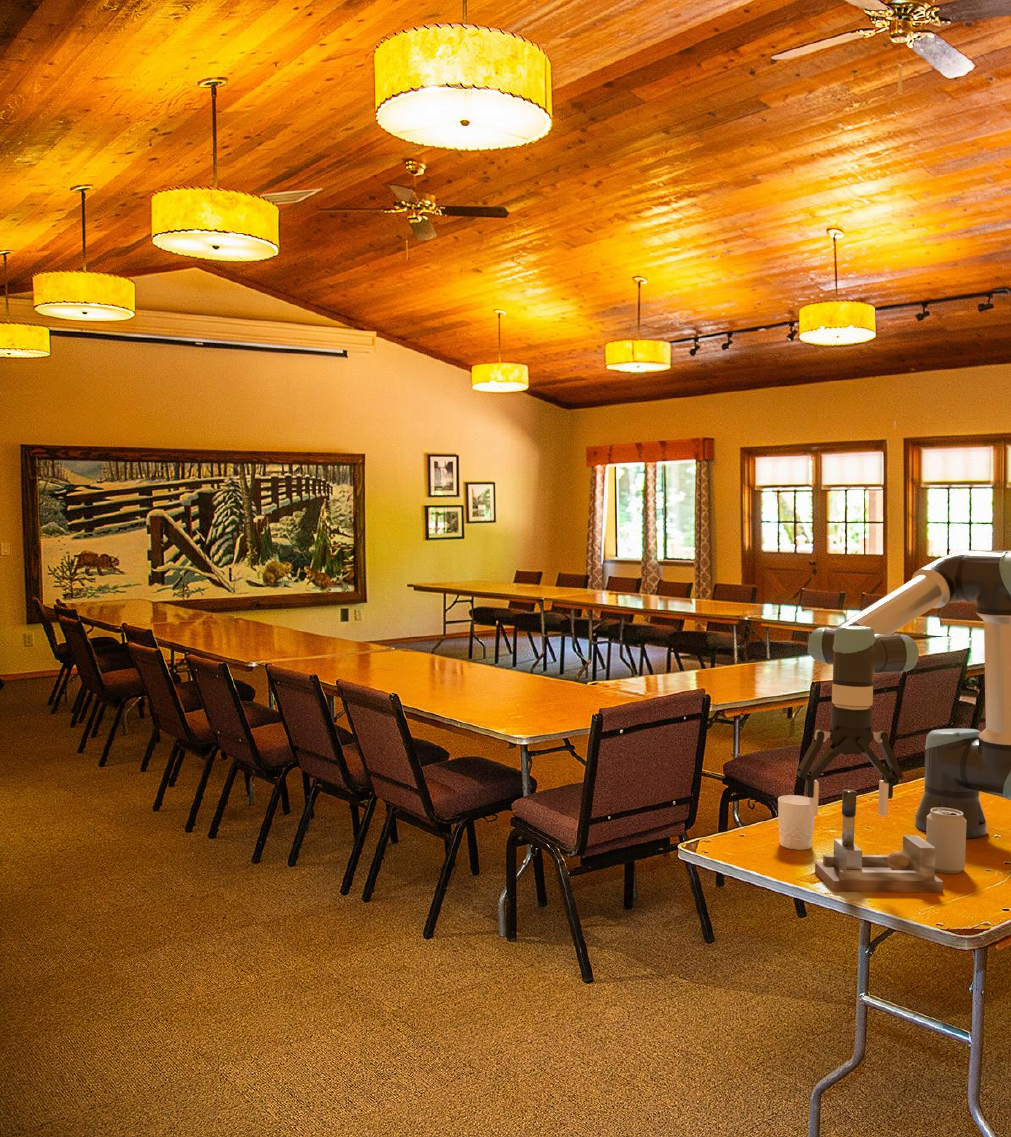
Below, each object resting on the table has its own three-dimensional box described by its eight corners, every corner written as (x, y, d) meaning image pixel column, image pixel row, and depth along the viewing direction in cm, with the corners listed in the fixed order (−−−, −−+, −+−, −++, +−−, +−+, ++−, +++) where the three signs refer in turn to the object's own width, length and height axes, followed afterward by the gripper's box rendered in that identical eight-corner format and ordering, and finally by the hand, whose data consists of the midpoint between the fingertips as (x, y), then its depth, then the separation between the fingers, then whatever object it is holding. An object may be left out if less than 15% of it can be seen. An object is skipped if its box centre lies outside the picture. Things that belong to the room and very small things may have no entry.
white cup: (816, 852, 220) (817, 805, 220) (777, 849, 222) (779, 803, 221) (812, 841, 228) (814, 796, 227) (775, 838, 229) (777, 794, 229)
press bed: (918, 872, 208) (919, 833, 208) (943, 892, 197) (944, 850, 197) (814, 872, 207) (815, 832, 207) (833, 891, 196) (834, 849, 196)
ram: (848, 864, 205) (850, 786, 205) (861, 876, 198) (863, 796, 198) (833, 863, 205) (835, 786, 205) (846, 876, 198) (848, 796, 198)
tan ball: (903, 868, 204) (904, 848, 204) (912, 875, 200) (912, 854, 200) (883, 868, 204) (884, 848, 204) (891, 875, 200) (892, 854, 200)
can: (961, 877, 205) (963, 817, 205) (921, 870, 209) (923, 811, 209) (967, 867, 212) (969, 809, 211) (928, 860, 216) (930, 803, 215)
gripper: (907, 703, 205) (903, 810, 205) (782, 701, 204) (778, 808, 205) (923, 710, 197) (919, 820, 198) (793, 708, 196) (790, 818, 197)
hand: (848, 814), depth 201 cm, fingers open, 13 cm apart
